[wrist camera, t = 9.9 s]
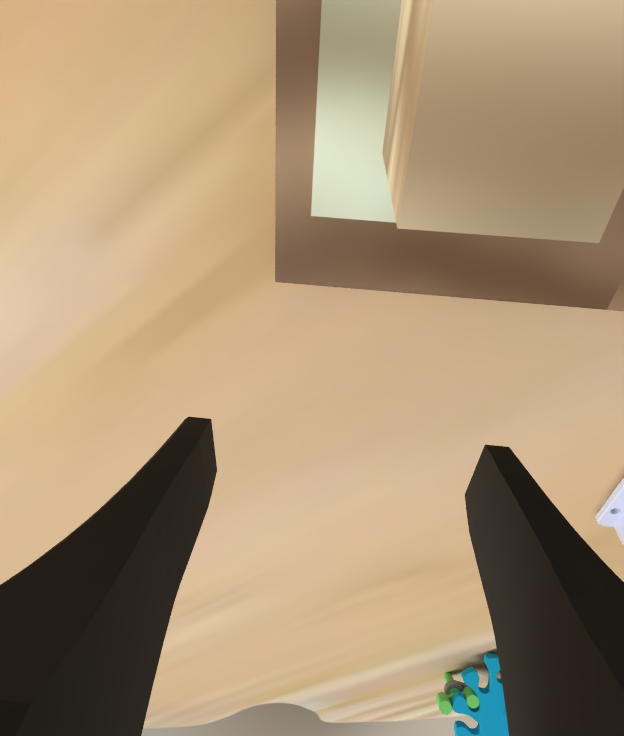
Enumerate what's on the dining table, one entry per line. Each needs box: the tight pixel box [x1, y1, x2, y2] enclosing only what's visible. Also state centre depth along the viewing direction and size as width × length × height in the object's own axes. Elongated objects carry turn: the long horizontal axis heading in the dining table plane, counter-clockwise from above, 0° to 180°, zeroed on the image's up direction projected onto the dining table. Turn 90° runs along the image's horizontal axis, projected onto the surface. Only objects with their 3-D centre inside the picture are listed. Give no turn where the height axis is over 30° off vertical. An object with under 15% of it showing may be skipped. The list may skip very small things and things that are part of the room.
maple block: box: [382, 0, 624, 243], centre depth 11 cm, size 4×4×7 cm
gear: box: [436, 653, 509, 736], centre depth 40 cm, size 11×6×10 cm
